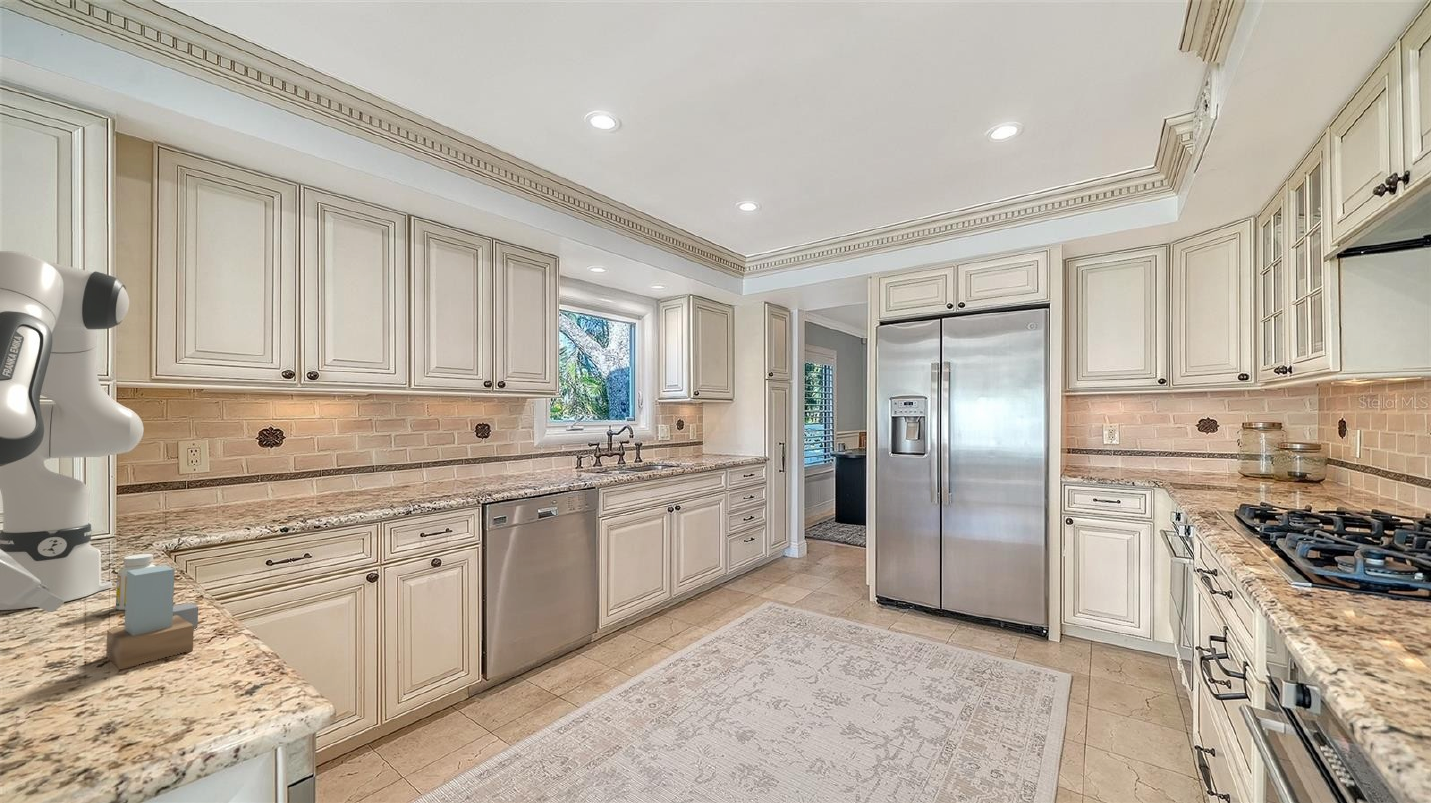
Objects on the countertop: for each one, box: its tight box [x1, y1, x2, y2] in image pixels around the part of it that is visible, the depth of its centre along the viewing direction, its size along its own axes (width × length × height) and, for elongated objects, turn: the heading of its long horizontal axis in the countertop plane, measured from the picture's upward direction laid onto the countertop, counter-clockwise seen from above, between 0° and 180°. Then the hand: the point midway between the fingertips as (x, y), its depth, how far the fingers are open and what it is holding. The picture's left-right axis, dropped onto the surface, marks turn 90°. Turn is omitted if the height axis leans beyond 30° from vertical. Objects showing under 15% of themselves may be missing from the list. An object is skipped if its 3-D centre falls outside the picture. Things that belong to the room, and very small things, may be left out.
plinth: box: [105, 615, 195, 670], centre depth 87 cm, size 8×8×4 cm
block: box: [173, 602, 199, 629], centre depth 97 cm, size 4×4×4 cm
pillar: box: [123, 564, 176, 636], centre depth 87 cm, size 4×4×9 cm
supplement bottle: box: [115, 553, 156, 611], centre depth 109 cm, size 5×5×10 cm
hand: (50, 600), depth 79 cm, fingers open, 8 cm apart
